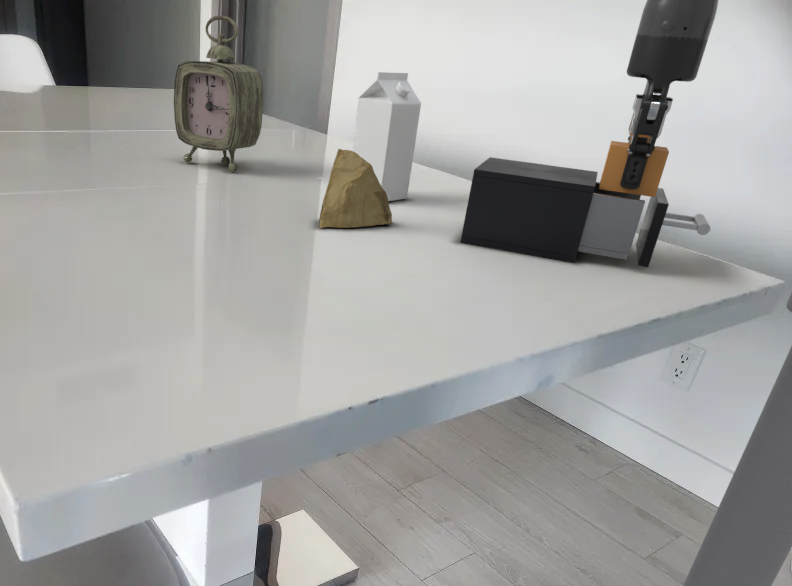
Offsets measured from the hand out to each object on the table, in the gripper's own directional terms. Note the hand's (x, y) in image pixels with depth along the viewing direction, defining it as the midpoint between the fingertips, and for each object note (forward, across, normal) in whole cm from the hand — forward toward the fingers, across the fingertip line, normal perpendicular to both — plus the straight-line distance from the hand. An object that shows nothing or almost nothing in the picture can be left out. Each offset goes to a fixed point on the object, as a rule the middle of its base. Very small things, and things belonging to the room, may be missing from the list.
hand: (628, 184), depth 85 cm
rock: (+10, -7, +33) cm, 35 cm away
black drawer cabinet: (+9, 0, +11) cm, 15 cm away
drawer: (+9, 0, -1) cm, 9 cm away
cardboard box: (+1, 0, 0) cm, 1 cm away
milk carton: (+10, +13, +36) cm, 40 cm away
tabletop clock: (+9, +17, +69) cm, 71 cm away
